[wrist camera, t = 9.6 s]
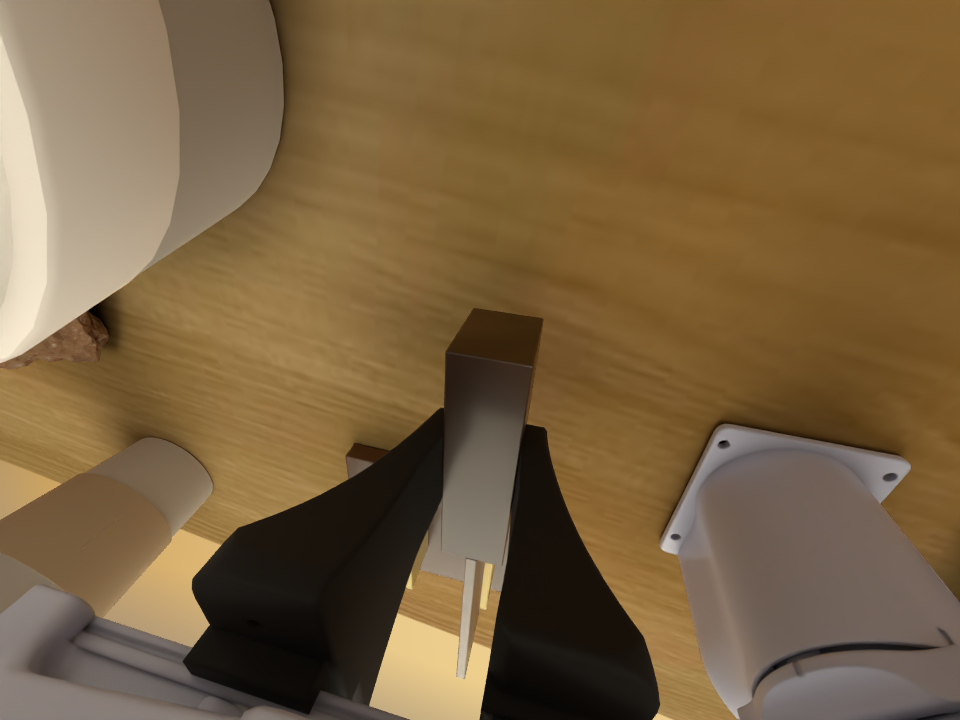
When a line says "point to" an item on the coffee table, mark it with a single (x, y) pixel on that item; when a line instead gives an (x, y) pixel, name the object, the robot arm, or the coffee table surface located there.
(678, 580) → the coffee table surface
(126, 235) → the bowl
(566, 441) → the coffee table surface
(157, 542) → the coffee cup
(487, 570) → the butter slice
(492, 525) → the knife
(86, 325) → the rock
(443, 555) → the board
